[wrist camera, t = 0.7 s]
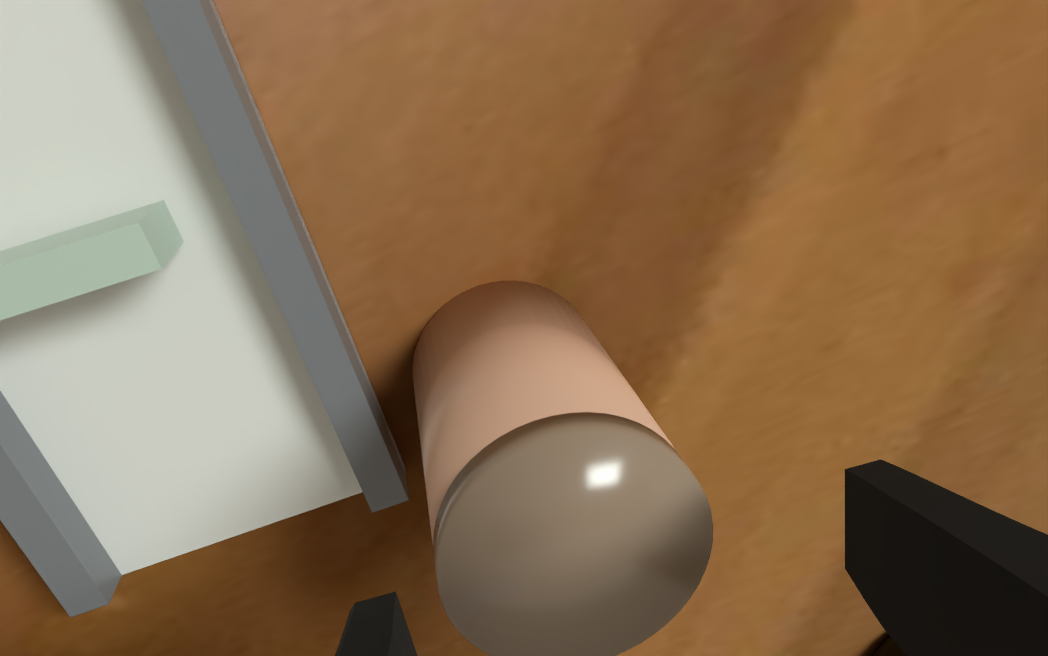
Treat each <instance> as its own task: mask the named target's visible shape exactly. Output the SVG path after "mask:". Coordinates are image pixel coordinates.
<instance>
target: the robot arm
mask: <svg viewBox="0 0 1048 656" xmlns="http://www.w3.org/2000/svg"><path fill="white" fill-rule="evenodd" d="M845 569H846V571H847V572H848V574H849V575H850V577H851V579H852V580H853V582H854V583H855V585H856V587H857V588H858V590H859V591H860V593H861V595H862V596H863V598H864V599H865V601H866V603H867V604H868V606H869V607H870V609H871V610H872V612H873V613H874V615H875V616H876V618H877V619H878V621H879V622H880V624H881V625H882V626H883V628H884V629H885V630H886V631H887V633H888V634H889V635H890V636H891V638H892V639H893V640H894V641H895V643H896V644H897V645H898V646H899V647H900V649H901V650H902V651H903V652H904V654H905V655H906V656H1048V535H1047V534H1045V533H1042V532H1040V531H1037V530H1035V529H1033V528H1031V527H1028V526H1026V525H1024V524H1021V523H1019V522H1017V521H1015V520H1012V519H1010V518H1008V517H1006V516H1004V515H1001V514H999V513H997V512H995V511H992V510H990V509H988V508H986V507H984V506H982V505H979V504H977V503H975V502H973V501H971V500H969V499H966V498H964V497H962V496H960V495H958V494H956V493H954V492H951V491H949V490H947V489H945V488H943V487H941V486H939V485H937V484H934V483H932V482H930V481H928V480H926V479H924V478H921V477H919V476H917V475H915V474H913V473H911V472H908V471H906V470H904V469H902V468H900V467H897V466H895V465H893V464H890V463H888V462H886V461H883V460H877V461H874V462H870V463H866V464H863V465H859V466H855V467H852V468H848V469H845ZM335 656H417V653H416V650H415V648H414V645H413V642H412V639H411V636H410V633H409V630H408V627H407V624H406V621H405V618H404V615H403V612H402V609H401V606H400V603H399V600H398V597H397V594H396V592H393V593H389V594H386V595H382V596H378V597H375V598H371V599H367V600H364V601H360V602H356V603H355V604H354V606H353V607H352V609H351V610H350V613H349V616H348V619H347V622H346V625H345V628H344V631H343V634H342V637H341V640H340V643H339V646H338V649H337V652H336V654H335Z"/></svg>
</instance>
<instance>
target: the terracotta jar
mask: <svg viewBox="0 0 1048 656" xmlns="http://www.w3.org/2000/svg"><path fill="white" fill-rule="evenodd" d="M412 377H413V385H414V393H415V402H416V410H417V418H418V427H419V435H420V443H421V452H422V460H423V468H424V477H425V485H426V493H427V502H428V510H429V518H430V527H431V535H432V543H433V552H434V560H435V569H436V577H437V584H438V591H439V595H440V598H441V601H442V604H443V607H444V610H445V611H446V613H447V615H448V617H449V619H450V621H451V622H452V623H453V625H454V626H455V627H456V629H457V630H458V631H459V633H461V634H462V635H463V636H464V637H465V638H466V639H467V640H468V641H469V642H470V643H471V644H473V645H474V646H476V647H477V648H479V649H480V650H481V651H483V652H485V653H487V654H489V655H491V656H615V655H618V654H620V653H622V652H625V651H627V650H629V649H630V648H632V647H634V646H636V645H638V644H640V643H642V642H643V641H644V640H646V639H647V638H649V637H650V636H652V635H653V634H655V633H656V632H657V631H659V630H660V629H661V628H662V627H664V626H665V625H666V624H667V623H668V622H669V621H670V620H671V619H672V618H673V617H674V616H675V615H676V614H677V613H678V612H679V611H680V610H681V609H682V608H683V606H684V605H685V604H686V603H687V601H688V600H689V599H690V597H691V596H692V594H693V593H694V591H695V590H696V588H697V586H698V585H699V583H700V581H701V579H702V576H703V574H704V572H705V570H706V567H707V564H708V561H709V558H710V553H711V548H712V542H713V522H712V514H711V510H710V507H709V503H708V500H707V497H706V495H705V493H704V491H703V489H702V487H701V485H700V484H699V482H698V481H697V480H696V478H695V477H694V475H693V474H692V472H691V471H690V470H689V468H688V467H687V465H686V464H685V463H684V461H683V460H682V458H681V457H680V456H679V454H678V453H677V451H676V450H675V448H674V447H673V446H672V444H671V443H670V441H669V440H668V439H667V437H666V436H665V434H664V433H663V432H662V430H661V429H660V427H659V426H658V425H657V423H656V422H655V420H654V419H653V417H652V416H651V415H650V413H649V412H648V410H647V409H646V408H645V406H644V405H643V403H642V402H641V401H640V399H639V398H638V396H637V395H636V393H635V392H634V391H633V389H632V388H631V386H630V385H629V384H628V382H627V381H626V379H625V378H624V377H623V375H622V374H621V372H620V371H619V370H618V368H617V367H616V365H615V364H614V362H613V361H612V360H611V358H610V357H609V355H608V354H607V353H606V351H605V350H604V348H603V347H602V346H601V344H600V343H599V341H598V340H597V339H596V337H595V336H594V334H593V333H592V331H591V330H590V329H589V327H588V326H587V324H586V323H585V322H584V320H583V319H582V317H581V316H580V315H579V313H578V312H577V310H576V309H575V308H574V307H573V306H572V305H571V304H570V303H569V302H568V301H566V300H565V299H564V298H563V297H561V296H560V295H558V294H557V293H555V292H553V291H551V290H549V289H547V288H545V287H542V286H540V285H536V284H532V283H528V282H521V281H499V282H491V283H487V284H483V285H479V286H477V287H474V288H472V289H469V290H467V291H465V292H463V293H461V294H459V295H457V296H456V297H454V298H453V299H452V300H450V301H449V302H447V303H446V304H445V305H444V306H443V307H442V308H441V309H439V310H438V311H437V312H436V313H435V315H434V316H433V317H432V318H431V319H430V321H429V322H428V324H427V325H426V327H425V328H424V330H423V332H422V334H421V336H420V338H419V340H418V342H417V346H416V349H415V352H414V358H413V365H412Z"/></svg>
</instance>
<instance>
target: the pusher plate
mask: <svg viewBox="0 0 1048 656" xmlns="http://www.w3.org/2000/svg"><path fill="white" fill-rule="evenodd" d="M183 243H184V240H183V238H182V236H181V234H180V232H179V230H178V228H177V226H176V224H175V222H174V220H173V218H172V216H171V214H170V212H169V210H168V208H167V206H166V204H165V202H164V200H162V201H159V202H156V203H152V204H149V205H146V206H143V207H140V208H136V209H133V210H130V211H127V212H124V213H120V214H117V215H114V216H111V217H108V218H104V219H101V220H98V221H95V222H92V223H88V224H85V225H82V226H79V227H76V228H72V229H69V230H66V231H63V232H60V233H56V234H53V235H50V236H47V237H44V238H40V239H37V240H34V241H31V242H28V243H24V244H21V245H18V246H15V247H12V248H8V249H5V250H2V251H0V320H3V319H6V318H10V317H13V316H16V315H19V314H22V313H25V312H28V311H31V310H35V309H38V308H41V307H44V306H47V305H50V304H53V303H57V302H60V301H63V300H66V299H69V298H72V297H75V296H79V295H82V294H85V293H88V292H91V291H94V290H97V289H101V288H104V287H107V286H110V285H113V284H116V283H119V282H123V281H126V280H129V279H132V278H135V277H138V276H141V275H144V274H148V273H151V272H154V271H157V270H160V269H162V268H163V267H164V266H165V265H166V263H167V262H168V261H169V260H170V259H171V257H172V256H173V255H174V254H175V253H176V251H177V250H178V249H179V248H180V246H181V245H182V244H183Z"/></svg>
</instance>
